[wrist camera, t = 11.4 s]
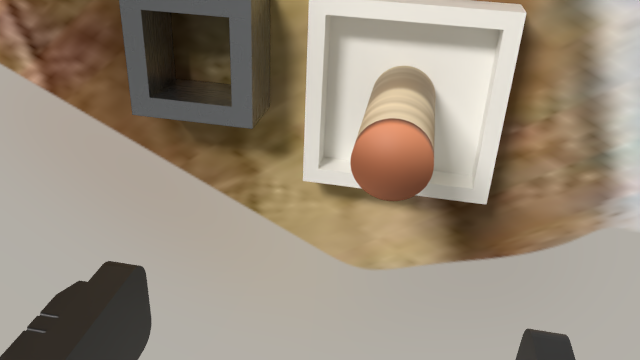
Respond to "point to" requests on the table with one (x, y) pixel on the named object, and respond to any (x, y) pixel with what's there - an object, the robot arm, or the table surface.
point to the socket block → (196, 96)
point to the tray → (426, 55)
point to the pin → (396, 136)
